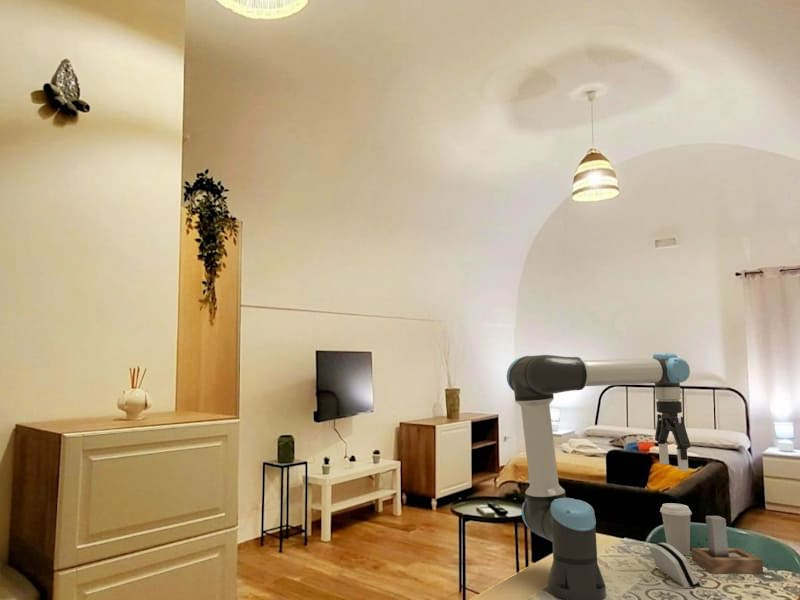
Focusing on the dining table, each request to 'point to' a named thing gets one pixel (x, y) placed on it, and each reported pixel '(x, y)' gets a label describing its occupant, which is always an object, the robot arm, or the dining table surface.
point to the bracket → (718, 537)
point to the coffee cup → (677, 526)
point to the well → (728, 562)
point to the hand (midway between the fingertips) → (673, 467)
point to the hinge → (673, 564)
